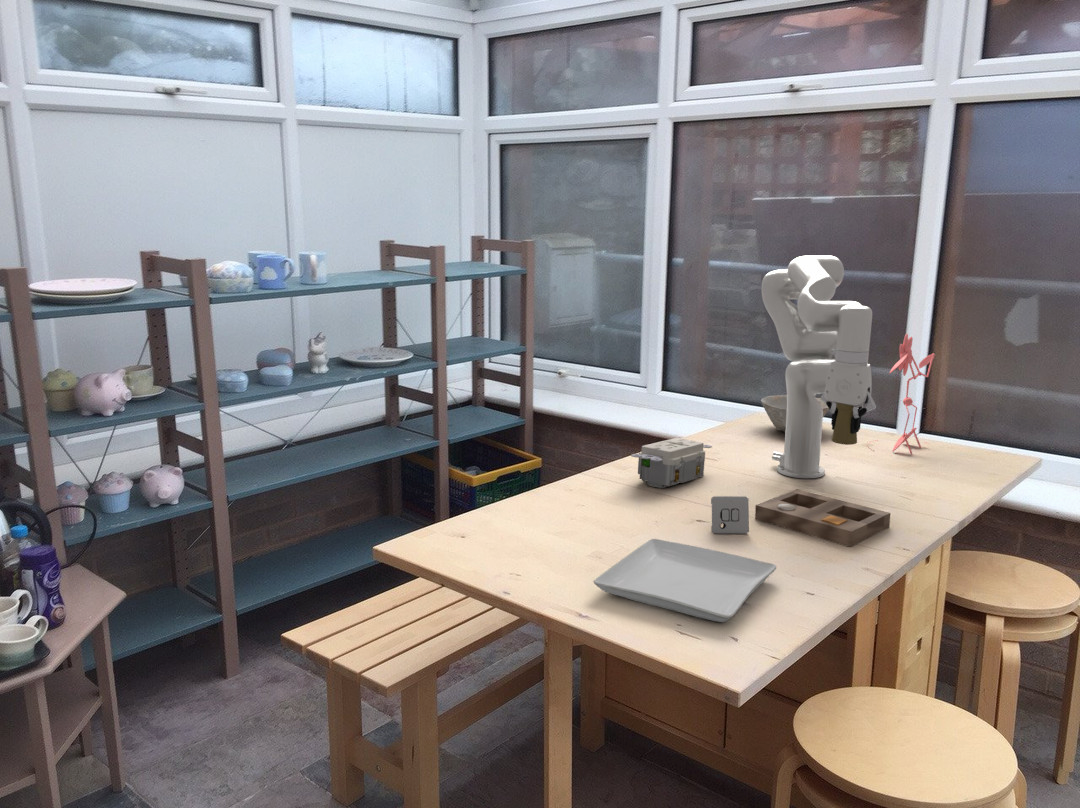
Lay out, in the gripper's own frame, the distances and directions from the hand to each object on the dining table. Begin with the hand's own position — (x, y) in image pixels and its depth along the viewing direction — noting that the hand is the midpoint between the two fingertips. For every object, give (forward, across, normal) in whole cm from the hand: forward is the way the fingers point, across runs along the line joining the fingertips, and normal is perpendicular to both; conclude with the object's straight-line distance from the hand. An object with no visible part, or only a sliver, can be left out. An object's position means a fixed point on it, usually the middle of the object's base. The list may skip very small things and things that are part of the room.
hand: (845, 430), depth 222 cm
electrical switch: (+18, -6, -38) cm, 43 cm away
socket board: (+18, +6, -18) cm, 26 cm away
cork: (+3, 0, 0) cm, 3 cm away
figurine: (+19, -14, +60) cm, 64 cm away
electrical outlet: (+19, -40, -17) cm, 47 cm away
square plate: (+18, +7, -70) cm, 73 cm away
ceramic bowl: (+20, -45, +54) cm, 74 cm away
